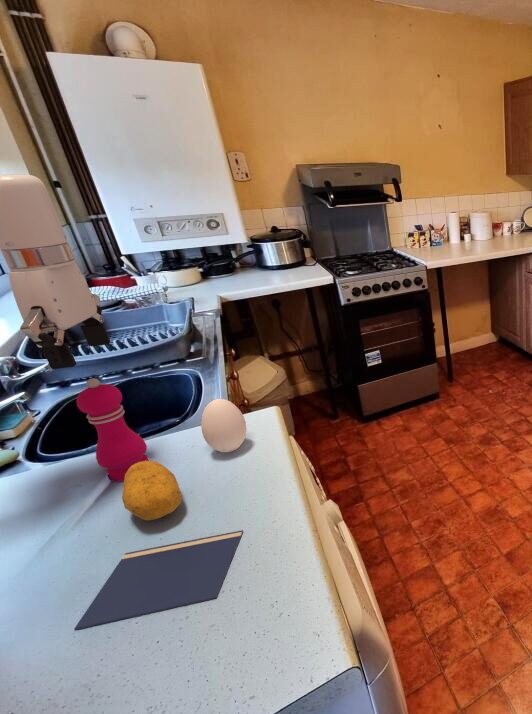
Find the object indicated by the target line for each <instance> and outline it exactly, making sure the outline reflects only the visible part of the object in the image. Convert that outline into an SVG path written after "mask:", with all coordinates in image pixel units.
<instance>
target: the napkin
mask: <svg viewBox="0 0 532 714" xmlns="http://www.w3.org/2000/svg"><path fill="white" fill-rule="evenodd" d="M243 533H244V530H243V529H241V530H237V531H236V530H235V531H231V532H226V533H221V534H217V535H210V536H207V537H201V538H196V539H189V540H186V541H181V542H176V543H171V544H165V545H161V546H154V547H151V548H145V549H139V550H135V551H130V552H126V553H124V554H123V555H122V557H121V559H120V560H119V562H118V564H117V565H116V567H115V568H114V569H113V571H112V573H111V574H110V575H109V577H108V578H107V580H106V581H105V583H104V584H103V585H102V587H101V589H100V590H99V592H98V593H97V595H95V597H94V598H93V600H92V601H91V604H90V605H89V606H88V608H87V609H86V611H85V612H84V613H83V615H82V617H81V618H80V619H79V621H78V622H77V623H76V625H75V627H74V628H73V629H74V631H78V630H79V631H80V630H83V629H88V628H92V627H96V626H101V625H105V624H109V623H114V622H119V621H123V620H127V619H131V618H135V617H140V616H145V615H151V614H153V613H157V612H159V613H160V612H162V611H167V610H171V609H176V608H180V607H181V608H182V607H186V606H190V605H194V604H198V603H201V602H202V603H203V602H207V601H211V600H216V599H217V598H218V596H219V594H220V591H221V589H222V586H223V583H224V582H225V580H226V579H225V578H226V576H227V575H228V574H227V573H228V570H229V569H230V567H231V566H230V565H231V563H232V561H233V558H234V555H235V553H236V551H237V548H238V546H239V543H240V541H241V538H242V535H243Z"/></svg>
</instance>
